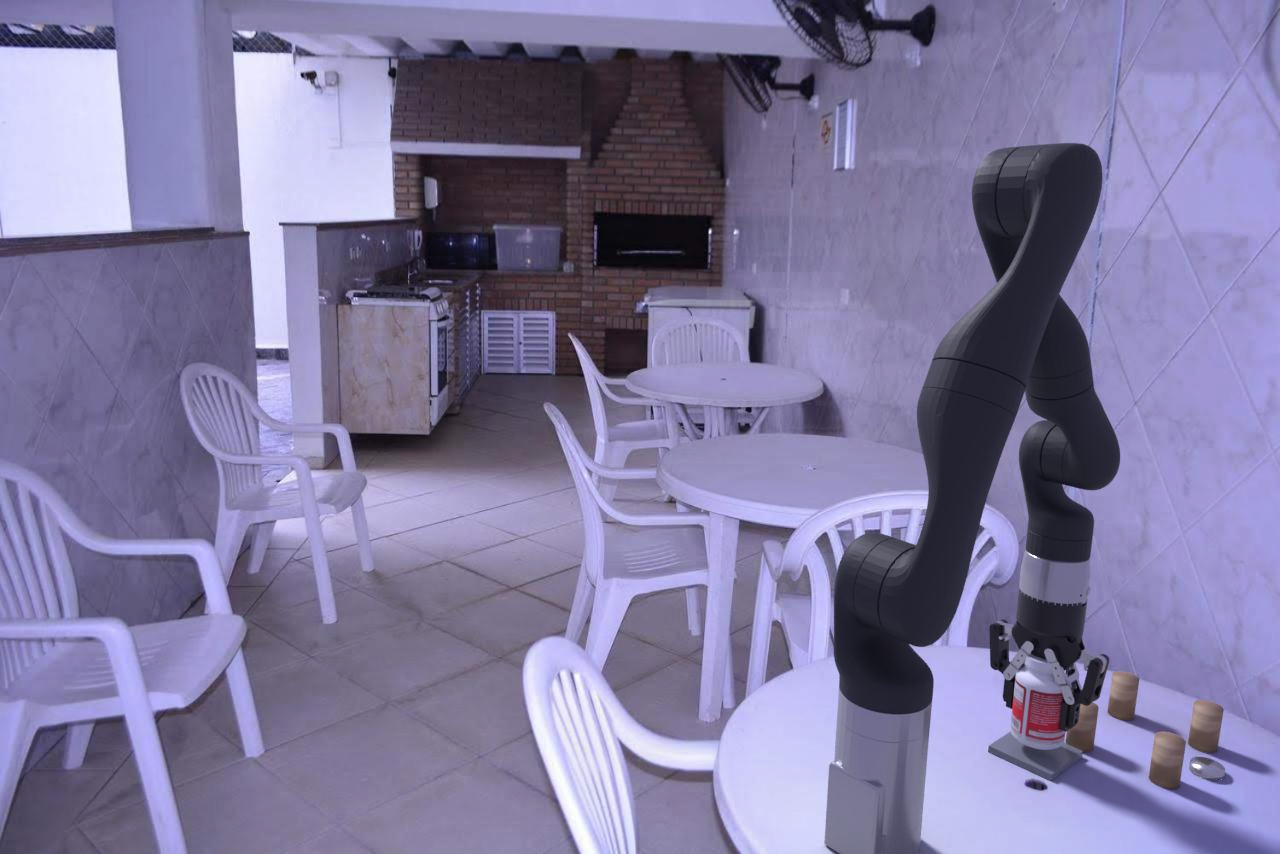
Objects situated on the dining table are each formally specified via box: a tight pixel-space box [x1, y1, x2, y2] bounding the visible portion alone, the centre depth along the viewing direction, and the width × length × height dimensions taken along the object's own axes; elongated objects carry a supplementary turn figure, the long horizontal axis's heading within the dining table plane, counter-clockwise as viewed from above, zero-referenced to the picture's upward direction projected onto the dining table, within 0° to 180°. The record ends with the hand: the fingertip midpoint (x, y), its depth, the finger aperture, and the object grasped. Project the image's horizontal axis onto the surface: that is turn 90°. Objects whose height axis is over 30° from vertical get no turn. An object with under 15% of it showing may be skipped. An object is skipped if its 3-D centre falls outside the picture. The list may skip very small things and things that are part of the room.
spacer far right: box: [1107, 670, 1140, 722], centre depth 123 cm, size 3×3×6 cm
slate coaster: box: [987, 730, 1084, 781], centre depth 114 cm, size 8×8×1 cm
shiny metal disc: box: [1188, 756, 1226, 782], centre depth 110 cm, size 4×4×1 cm
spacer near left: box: [1148, 731, 1187, 790], centre depth 108 cm, size 3×3×6 cm
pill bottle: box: [1010, 655, 1066, 750], centre depth 112 cm, size 6×6×11 cm
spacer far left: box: [1187, 699, 1224, 754], centre depth 116 cm, size 3×3×6 cm
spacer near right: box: [1065, 702, 1099, 753], centre depth 115 cm, size 3×3×6 cm
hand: (1038, 716), depth 113 cm, fingers closed on pill bottle, 6 cm apart
